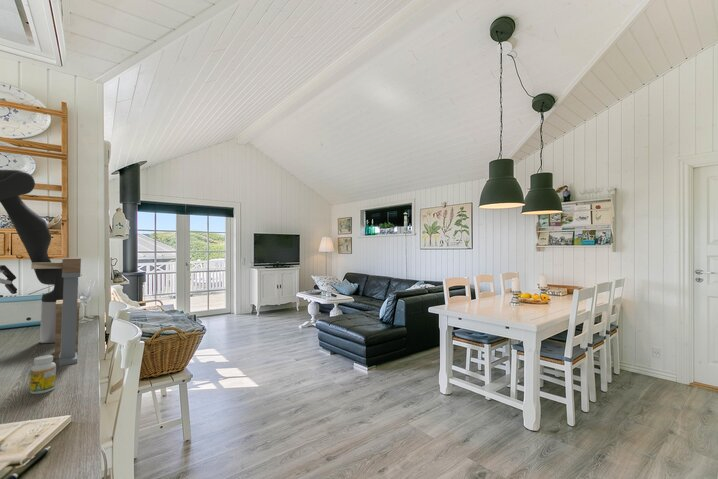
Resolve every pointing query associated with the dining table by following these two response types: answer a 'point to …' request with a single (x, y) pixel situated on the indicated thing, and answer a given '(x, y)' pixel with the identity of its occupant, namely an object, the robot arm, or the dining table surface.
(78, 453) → the dining table surface
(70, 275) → the stand
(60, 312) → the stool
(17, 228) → the robot arm
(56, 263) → the mallet
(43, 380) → the supplement bottle
